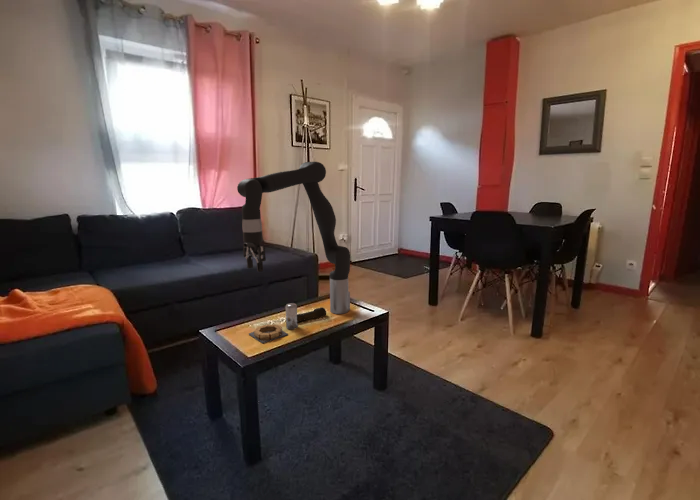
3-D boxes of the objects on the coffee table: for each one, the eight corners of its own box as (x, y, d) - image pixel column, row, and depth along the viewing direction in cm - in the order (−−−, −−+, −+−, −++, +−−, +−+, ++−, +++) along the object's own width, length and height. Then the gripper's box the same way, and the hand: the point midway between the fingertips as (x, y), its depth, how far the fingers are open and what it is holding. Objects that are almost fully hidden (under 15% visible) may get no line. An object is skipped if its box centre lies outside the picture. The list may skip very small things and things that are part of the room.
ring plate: (273, 327, 163) (273, 321, 163) (288, 335, 154) (287, 329, 154) (248, 334, 155) (248, 329, 155) (262, 343, 146) (262, 338, 146)
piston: (293, 324, 166) (292, 302, 164) (299, 327, 163) (299, 304, 161) (284, 327, 163) (283, 304, 161) (290, 330, 159) (289, 307, 157)
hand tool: (291, 325, 165) (291, 315, 164) (288, 322, 169) (287, 313, 168) (328, 317, 174) (328, 308, 174) (325, 315, 178) (324, 306, 177)
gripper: (269, 230, 142) (272, 271, 145) (252, 227, 152) (255, 265, 155) (252, 232, 137) (255, 274, 140) (235, 229, 147) (238, 268, 150)
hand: (255, 269), depth 147 cm, fingers open, 8 cm apart
